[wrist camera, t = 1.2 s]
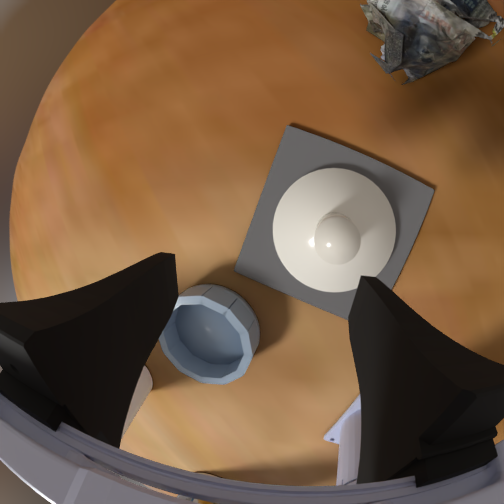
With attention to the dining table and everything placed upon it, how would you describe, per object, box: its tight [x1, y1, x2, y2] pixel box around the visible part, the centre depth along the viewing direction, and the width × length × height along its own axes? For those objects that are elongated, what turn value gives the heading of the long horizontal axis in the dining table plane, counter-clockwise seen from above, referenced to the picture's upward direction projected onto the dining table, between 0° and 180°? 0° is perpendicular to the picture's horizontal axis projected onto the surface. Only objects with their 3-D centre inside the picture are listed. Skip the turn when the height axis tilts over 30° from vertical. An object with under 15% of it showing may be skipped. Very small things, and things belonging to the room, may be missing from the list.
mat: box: [234, 125, 434, 320], centre depth 20 cm, size 12×12×1 cm
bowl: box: [159, 284, 260, 385], centre depth 23 cm, size 8×8×3 cm
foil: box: [360, 0, 504, 85], centre depth 11 cm, size 12×11×15 cm
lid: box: [273, 168, 396, 292], centre depth 18 cm, size 9×9×4 cm
